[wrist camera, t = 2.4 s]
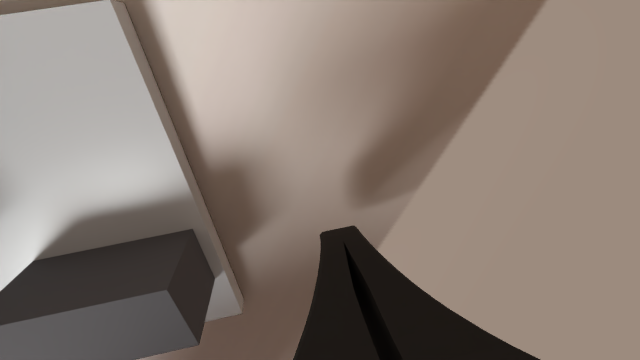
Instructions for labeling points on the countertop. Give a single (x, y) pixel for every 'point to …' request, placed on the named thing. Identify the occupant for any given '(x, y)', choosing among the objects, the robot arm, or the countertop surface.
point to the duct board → (91, 146)
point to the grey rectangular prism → (109, 302)
